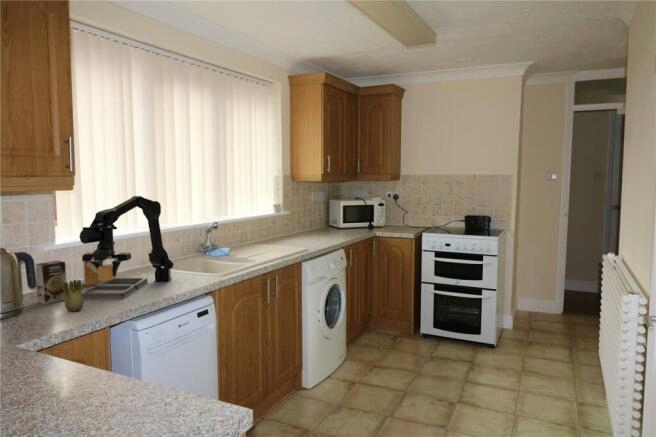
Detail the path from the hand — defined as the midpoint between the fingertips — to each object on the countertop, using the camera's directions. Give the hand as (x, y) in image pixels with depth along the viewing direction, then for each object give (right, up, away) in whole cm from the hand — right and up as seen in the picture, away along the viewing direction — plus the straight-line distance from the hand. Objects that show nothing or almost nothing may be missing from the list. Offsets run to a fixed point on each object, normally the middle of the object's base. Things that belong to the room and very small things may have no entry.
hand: (107, 276), depth 204 cm
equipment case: (0, -7, +16) cm, 17 cm away
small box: (-17, -6, +21) cm, 28 cm away
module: (0, -1, 0) cm, 1 cm away
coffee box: (-19, -9, -9) cm, 23 cm away
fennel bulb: (-2, -11, -22) cm, 25 cm away
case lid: (0, -8, +1) cm, 8 cm away
